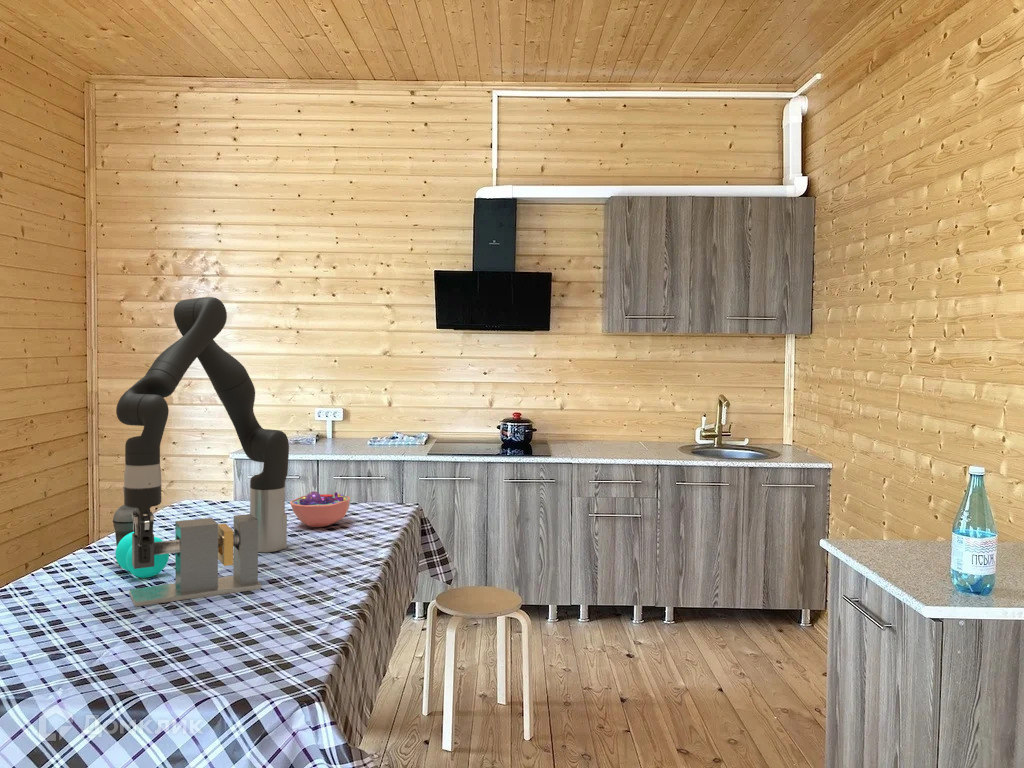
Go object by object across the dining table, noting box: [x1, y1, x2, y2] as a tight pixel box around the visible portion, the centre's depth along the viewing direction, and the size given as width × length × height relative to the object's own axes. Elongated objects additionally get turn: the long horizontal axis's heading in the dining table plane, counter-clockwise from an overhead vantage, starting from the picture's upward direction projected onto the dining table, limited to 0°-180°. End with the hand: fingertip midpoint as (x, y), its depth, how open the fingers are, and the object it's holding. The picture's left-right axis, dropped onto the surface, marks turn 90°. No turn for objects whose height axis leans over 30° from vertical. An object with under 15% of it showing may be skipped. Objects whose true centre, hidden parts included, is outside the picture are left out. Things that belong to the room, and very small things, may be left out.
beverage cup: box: [112, 486, 136, 568], centre depth 203 cm, size 7×7×20 cm
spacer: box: [218, 523, 234, 567], centre depth 187 cm, size 2×8×8 cm, turn 32°
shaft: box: [132, 533, 239, 569], centre depth 183 cm, size 26×4×7 cm, turn 122°
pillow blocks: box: [128, 513, 263, 608], centre depth 184 cm, size 27×10×16 cm, turn 122°
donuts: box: [114, 532, 170, 579], centre depth 196 cm, size 10×10×10 cm
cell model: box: [289, 490, 351, 528], centre depth 250 cm, size 17×20×11 cm
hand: (143, 559), depth 178 cm, fingers closed on shaft, 4 cm apart
